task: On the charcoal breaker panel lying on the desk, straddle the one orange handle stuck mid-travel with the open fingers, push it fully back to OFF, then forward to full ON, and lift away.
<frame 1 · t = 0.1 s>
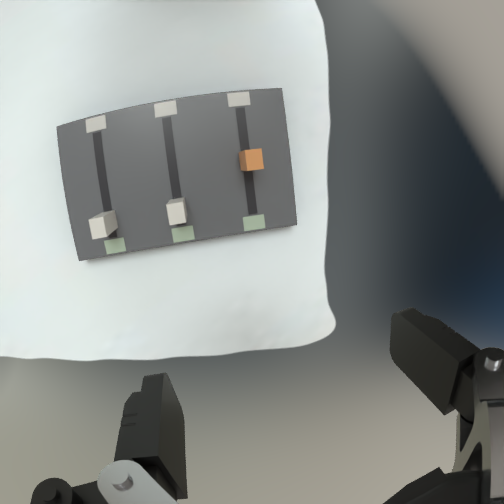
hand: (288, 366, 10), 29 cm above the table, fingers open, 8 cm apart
tripped breaker handle: (250, 160, 31), point 5 cm above the table, slide at 0.0 cm
breaker panel: (174, 170, 35), on the table
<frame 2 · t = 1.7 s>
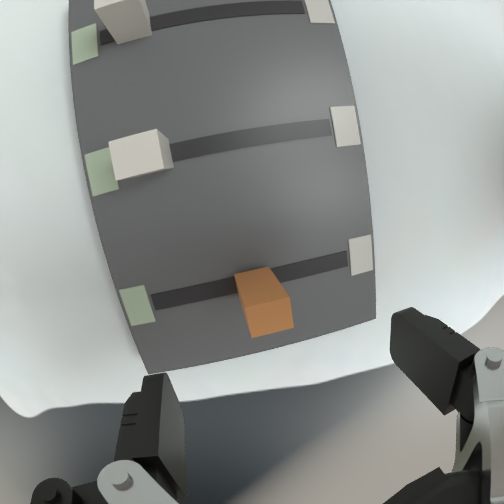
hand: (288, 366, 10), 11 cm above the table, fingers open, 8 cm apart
tripped breaker handle: (261, 298, 16), point 5 cm above the table, slide at 0.0 cm
breaker panel: (223, 144, 19), on the table
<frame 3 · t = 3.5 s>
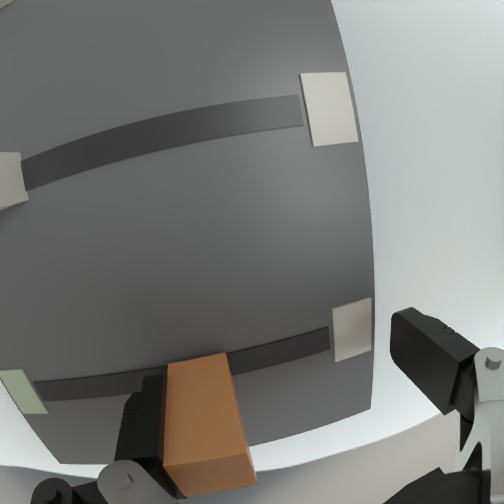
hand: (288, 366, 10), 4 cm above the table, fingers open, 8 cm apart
tripped breaker handle: (206, 419, 8), point 5 cm above the table, slide at -1.2 cm, touching gripper
breaker panel: (122, 151, 11), on the table
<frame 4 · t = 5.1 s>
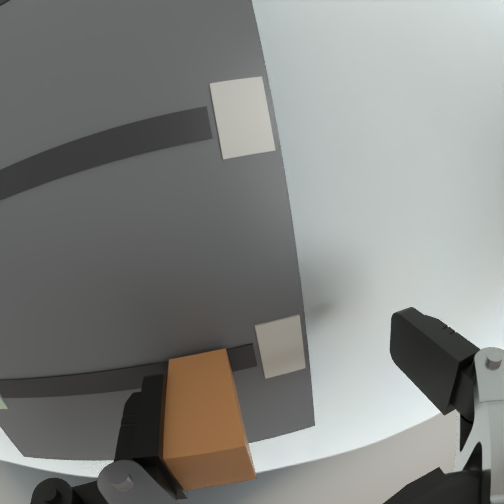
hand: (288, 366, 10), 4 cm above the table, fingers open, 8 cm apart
tripped breaker handle: (206, 414, 8), point 5 cm above the table, slide at -4.1 cm, touching gripper
breaker panel: (60, 169, 11), on the table
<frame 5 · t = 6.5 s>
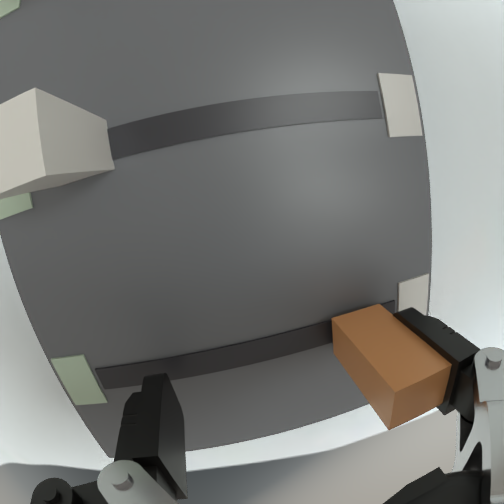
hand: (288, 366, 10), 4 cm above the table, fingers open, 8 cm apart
tripped breaker handle: (385, 359, 9), point 5 cm above the table, slide at -4.0 cm, touching gripper
breaker panel: (203, 130, 11), on the table
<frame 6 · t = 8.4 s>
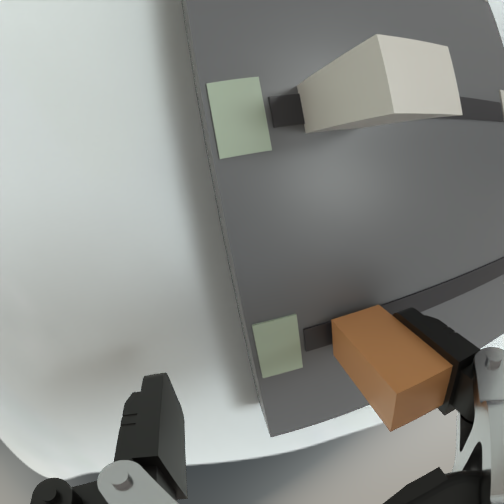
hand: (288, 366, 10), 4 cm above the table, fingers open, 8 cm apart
tripped breaker handle: (385, 360, 9), point 5 cm above the table, slide at 4.0 cm, touching gripper
breaker panel: (385, 112, 12), on the table
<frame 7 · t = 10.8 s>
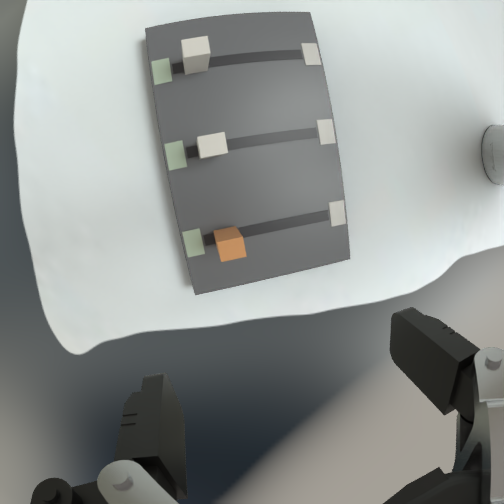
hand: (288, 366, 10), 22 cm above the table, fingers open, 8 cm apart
tripped breaker handle: (228, 242, 26), point 5 cm above the table, slide at 4.0 cm
breaker panel: (249, 142, 29), on the table
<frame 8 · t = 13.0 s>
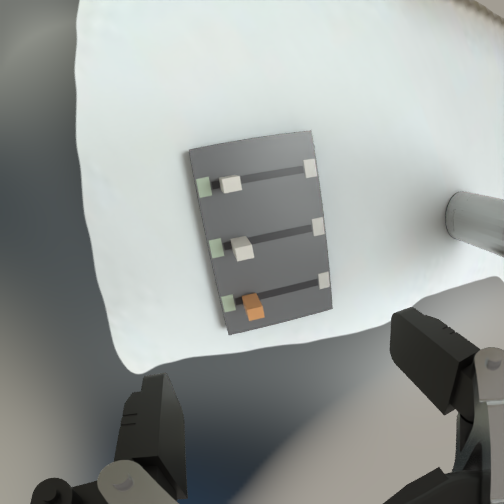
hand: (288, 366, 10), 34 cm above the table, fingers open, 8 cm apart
tripped breaker handle: (252, 306, 41), point 5 cm above the table, slide at 4.0 cm
breaker panel: (264, 233, 44), on the table
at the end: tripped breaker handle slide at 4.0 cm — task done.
